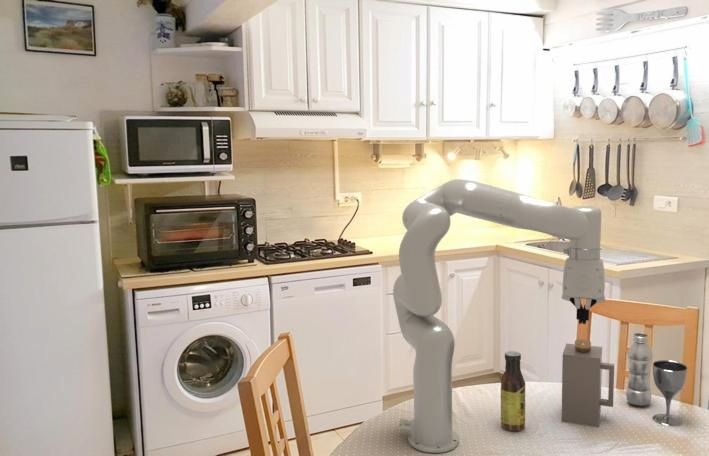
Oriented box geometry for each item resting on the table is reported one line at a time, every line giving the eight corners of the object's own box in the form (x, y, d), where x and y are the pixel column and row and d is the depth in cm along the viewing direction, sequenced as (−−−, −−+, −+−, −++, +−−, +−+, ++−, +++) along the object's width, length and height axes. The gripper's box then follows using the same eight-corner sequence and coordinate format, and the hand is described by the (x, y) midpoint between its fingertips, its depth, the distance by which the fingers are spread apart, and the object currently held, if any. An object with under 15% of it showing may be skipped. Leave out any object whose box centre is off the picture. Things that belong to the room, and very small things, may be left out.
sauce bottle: (526, 433, 159) (526, 358, 156) (500, 431, 160) (501, 357, 157) (524, 421, 165) (524, 350, 162) (500, 420, 166) (500, 349, 163)
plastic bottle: (621, 404, 174) (623, 335, 171) (632, 397, 178) (634, 330, 175) (644, 411, 169) (647, 340, 166) (655, 403, 173) (658, 334, 171)
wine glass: (683, 416, 165) (686, 362, 163) (685, 428, 158) (688, 372, 156) (650, 411, 169) (652, 358, 167) (651, 423, 162) (653, 368, 159)
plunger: (565, 414, 165) (567, 344, 162) (568, 404, 171) (569, 336, 168) (594, 419, 162) (596, 347, 159) (596, 408, 168) (598, 339, 166)
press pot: (561, 421, 164) (562, 354, 162) (565, 407, 173) (566, 343, 170) (612, 429, 159) (614, 359, 157) (613, 414, 168) (615, 348, 165)
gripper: (552, 255, 160) (551, 323, 163) (615, 258, 154) (612, 329, 156) (556, 250, 167) (554, 316, 169) (616, 253, 161) (613, 321, 163)
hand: (582, 322), depth 163 cm, fingers closed
